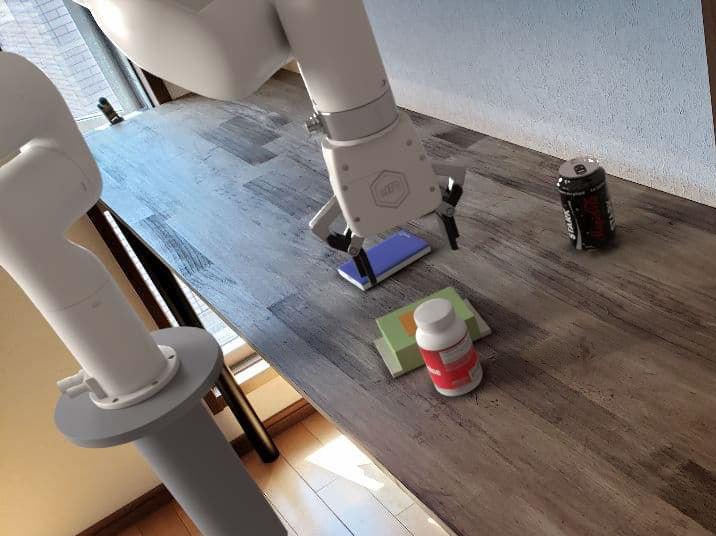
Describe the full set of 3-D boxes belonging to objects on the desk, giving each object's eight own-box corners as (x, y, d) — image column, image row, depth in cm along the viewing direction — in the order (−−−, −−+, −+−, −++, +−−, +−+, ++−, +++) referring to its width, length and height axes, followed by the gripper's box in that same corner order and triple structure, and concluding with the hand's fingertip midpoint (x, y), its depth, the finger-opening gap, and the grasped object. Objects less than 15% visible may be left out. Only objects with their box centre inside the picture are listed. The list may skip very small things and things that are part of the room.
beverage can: (578, 261, 118) (560, 184, 110) (566, 239, 123) (548, 164, 115) (624, 246, 118) (610, 168, 110) (610, 224, 123) (595, 149, 115)
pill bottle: (431, 376, 106) (402, 306, 99) (476, 358, 106) (451, 287, 99) (442, 405, 101) (413, 333, 94) (489, 386, 102) (464, 313, 95)
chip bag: (394, 378, 107) (384, 356, 105) (375, 344, 114) (365, 323, 112) (491, 333, 110) (484, 310, 107) (467, 302, 116) (460, 280, 114)
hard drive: (401, 228, 134) (336, 266, 129) (428, 242, 128) (361, 283, 124) (405, 236, 135) (340, 275, 130) (431, 251, 129) (365, 292, 125)
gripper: (281, 159, 77) (347, 309, 88) (453, 93, 80) (495, 246, 91) (267, 134, 82) (330, 278, 94) (428, 73, 86) (470, 219, 97)
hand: (411, 262), depth 92 cm, fingers open, 9 cm apart
